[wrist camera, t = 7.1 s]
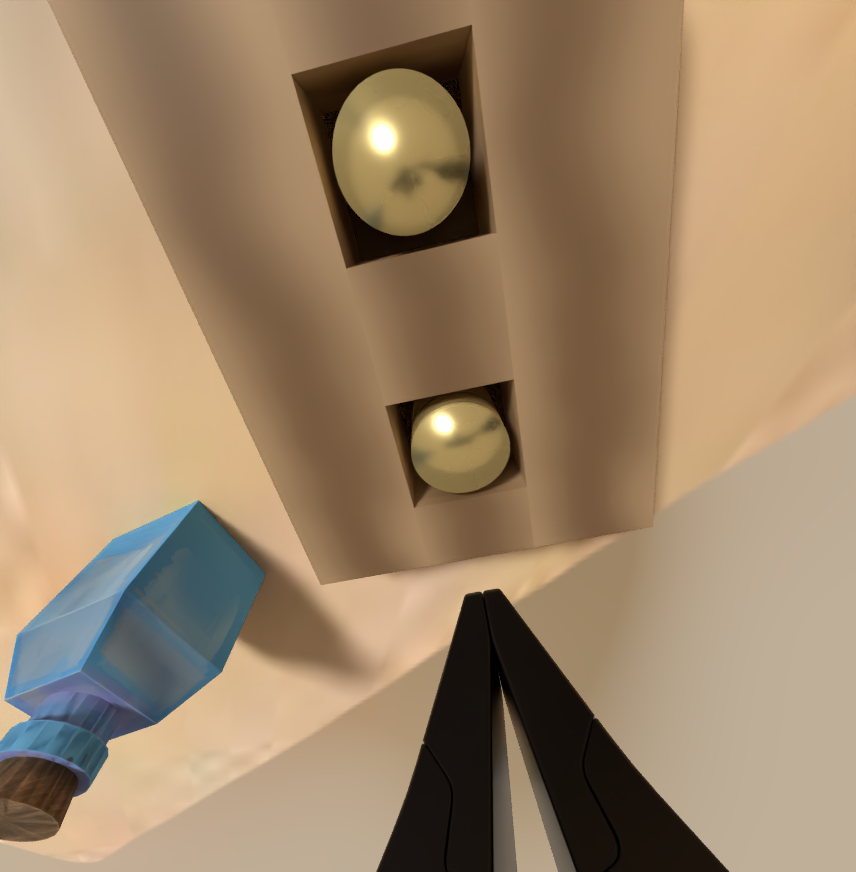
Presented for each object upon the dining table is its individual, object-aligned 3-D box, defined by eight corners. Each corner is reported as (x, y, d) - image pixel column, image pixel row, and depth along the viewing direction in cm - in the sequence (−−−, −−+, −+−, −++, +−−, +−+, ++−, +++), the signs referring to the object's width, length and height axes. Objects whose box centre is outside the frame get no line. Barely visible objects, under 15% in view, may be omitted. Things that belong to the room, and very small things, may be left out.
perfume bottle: (186, 605, 26) (19, 872, 15) (113, 539, 23) (-153, 803, 12) (266, 573, 24) (147, 836, 14) (198, 500, 22) (-11, 753, 11)
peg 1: (447, 96, 14) (457, 50, 10) (466, 223, 16) (480, 219, 12) (337, 125, 14) (312, 89, 11) (368, 246, 16) (355, 249, 13)
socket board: (615, -116, 12) (699, -264, 8) (614, 479, 22) (652, 526, 18) (130, 27, 13) (23, -50, 10) (335, 530, 23) (321, 585, 19)
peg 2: (487, 366, 18) (503, 396, 15) (498, 441, 20) (515, 483, 17) (403, 384, 19) (400, 417, 15) (421, 456, 20) (422, 500, 17)
